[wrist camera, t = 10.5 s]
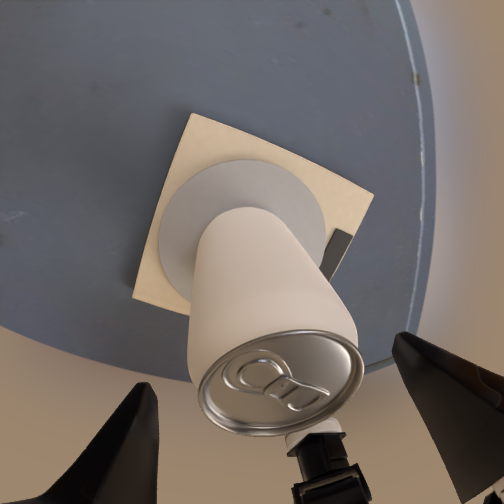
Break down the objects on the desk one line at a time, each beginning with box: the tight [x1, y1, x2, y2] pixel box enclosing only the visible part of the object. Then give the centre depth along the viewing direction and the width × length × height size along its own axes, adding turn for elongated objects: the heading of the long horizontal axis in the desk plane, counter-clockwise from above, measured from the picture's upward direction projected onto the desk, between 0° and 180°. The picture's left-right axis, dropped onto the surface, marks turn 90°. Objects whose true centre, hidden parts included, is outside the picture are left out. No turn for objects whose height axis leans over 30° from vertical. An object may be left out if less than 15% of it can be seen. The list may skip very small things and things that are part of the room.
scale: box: [132, 113, 374, 316], centre depth 20 cm, size 14×14×2 cm
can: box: [187, 207, 364, 437], centre depth 14 cm, size 6×6×12 cm
